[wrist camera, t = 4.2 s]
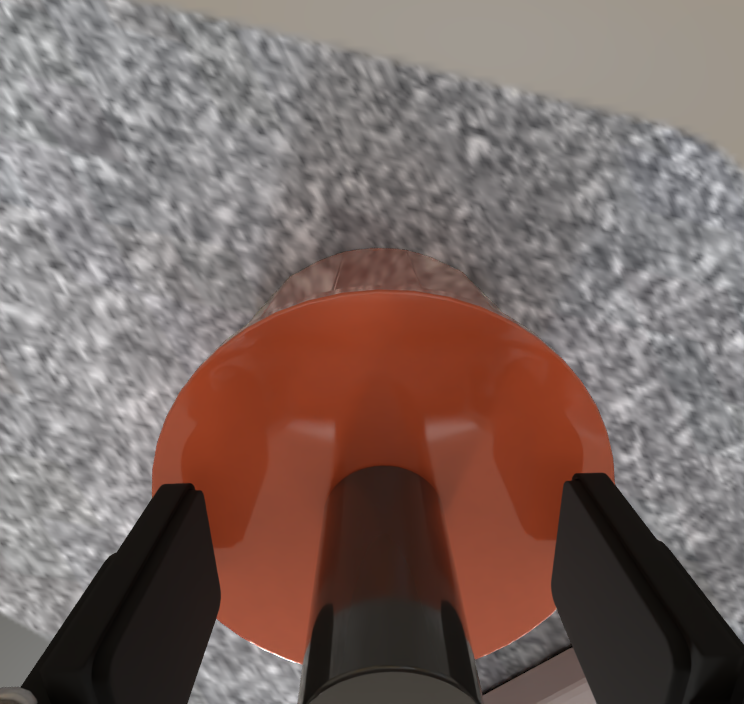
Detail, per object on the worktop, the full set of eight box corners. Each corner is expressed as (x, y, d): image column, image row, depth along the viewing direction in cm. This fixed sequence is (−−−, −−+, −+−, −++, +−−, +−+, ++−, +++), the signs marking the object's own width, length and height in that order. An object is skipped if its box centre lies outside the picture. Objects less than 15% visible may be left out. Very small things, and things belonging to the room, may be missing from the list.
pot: (523, 243, 16) (621, 292, 10) (504, 492, 19) (567, 646, 13) (226, 251, 16) (136, 306, 10) (258, 498, 19) (206, 655, 13)
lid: (623, 270, 10) (899, 383, 5) (569, 634, 14) (694, 930, 8) (131, 284, 10) (-125, 413, 5) (203, 642, 14) (99, 941, 8)
